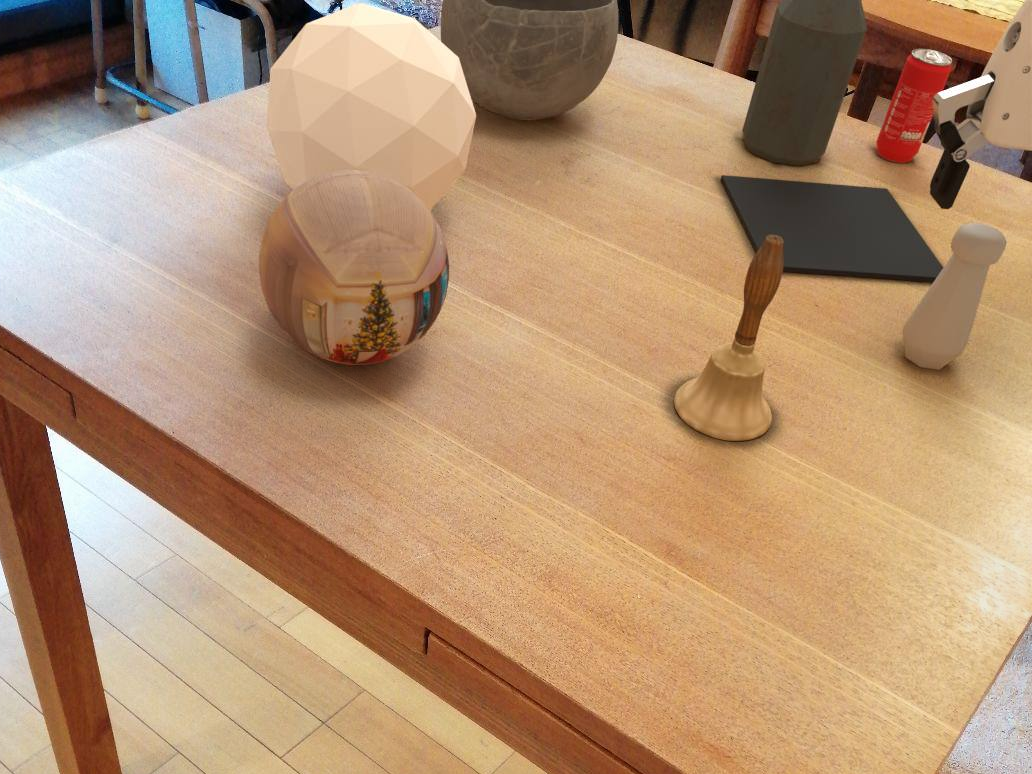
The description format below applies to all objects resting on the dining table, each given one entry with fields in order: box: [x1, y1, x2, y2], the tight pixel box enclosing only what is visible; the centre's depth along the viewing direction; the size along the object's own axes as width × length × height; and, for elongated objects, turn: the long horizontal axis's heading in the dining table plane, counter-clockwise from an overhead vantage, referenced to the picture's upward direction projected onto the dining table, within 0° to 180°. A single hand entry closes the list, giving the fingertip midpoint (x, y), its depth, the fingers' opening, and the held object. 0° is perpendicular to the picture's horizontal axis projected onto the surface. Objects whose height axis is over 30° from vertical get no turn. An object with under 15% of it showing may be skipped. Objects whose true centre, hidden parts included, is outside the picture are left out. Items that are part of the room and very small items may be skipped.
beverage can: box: [876, 48, 953, 164], centre depth 131 cm, size 5×5×12 cm
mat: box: [720, 174, 944, 283], centre depth 118 cm, size 20×20×1 cm
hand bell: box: [673, 235, 784, 442], centre depth 86 cm, size 8×8×16 cm
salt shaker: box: [902, 221, 1008, 371], centre depth 97 cm, size 6×6×13 cm
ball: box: [266, 2, 477, 211], centre depth 103 cm, size 19×20×20 cm
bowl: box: [440, 0, 619, 121], centre depth 127 cm, size 20×20×15 cm
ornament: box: [258, 170, 450, 366], centre depth 87 cm, size 15×15×15 cm
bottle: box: [741, 0, 868, 167], centre depth 123 cm, size 10×10×30 cm
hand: (993, 206), depth 91 cm, fingers open, 9 cm apart
